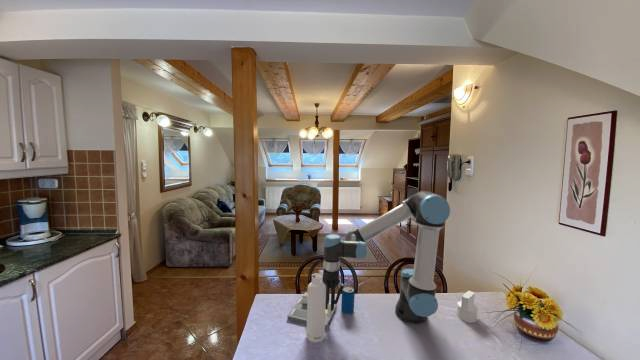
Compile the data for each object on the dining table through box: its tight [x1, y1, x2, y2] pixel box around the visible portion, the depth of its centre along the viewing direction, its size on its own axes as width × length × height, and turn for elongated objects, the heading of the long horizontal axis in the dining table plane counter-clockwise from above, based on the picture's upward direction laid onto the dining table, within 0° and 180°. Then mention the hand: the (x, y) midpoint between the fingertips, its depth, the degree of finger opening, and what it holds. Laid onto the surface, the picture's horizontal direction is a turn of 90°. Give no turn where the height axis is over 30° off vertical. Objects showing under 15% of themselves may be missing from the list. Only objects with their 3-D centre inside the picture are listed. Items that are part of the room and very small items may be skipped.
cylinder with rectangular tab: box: [456, 290, 479, 323], centre depth 132 cm, size 9×9×12 cm
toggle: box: [302, 291, 308, 304], centre depth 137 cm, size 4×4×4 cm
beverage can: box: [340, 286, 356, 315], centre depth 134 cm, size 6×6×12 cm
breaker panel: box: [287, 296, 338, 330], centre depth 131 cm, size 20×18×2 cm
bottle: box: [305, 272, 326, 343], centre depth 114 cm, size 8×8×28 cm
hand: (329, 315), depth 123 cm, fingers closed
